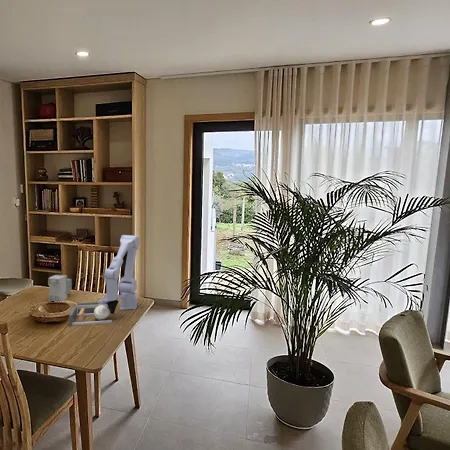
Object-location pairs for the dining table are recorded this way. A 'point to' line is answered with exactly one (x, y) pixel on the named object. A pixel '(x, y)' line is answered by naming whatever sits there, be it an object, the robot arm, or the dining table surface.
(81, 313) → the tan rectangular box
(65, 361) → the dining table surface
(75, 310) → the rail mount
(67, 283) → the circuit breaker
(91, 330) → the dining table surface
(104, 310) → the white rounded piece
